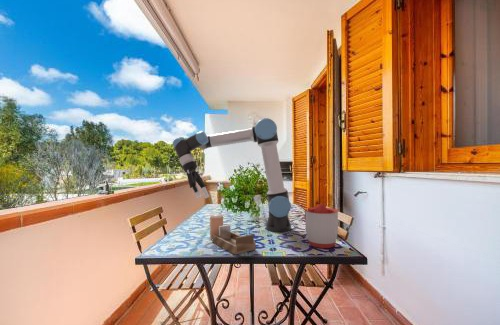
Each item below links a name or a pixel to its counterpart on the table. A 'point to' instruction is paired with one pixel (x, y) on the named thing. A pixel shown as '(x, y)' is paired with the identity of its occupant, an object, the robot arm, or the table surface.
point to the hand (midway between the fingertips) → (203, 197)
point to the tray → (236, 243)
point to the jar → (215, 224)
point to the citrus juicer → (321, 226)
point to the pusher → (224, 232)
